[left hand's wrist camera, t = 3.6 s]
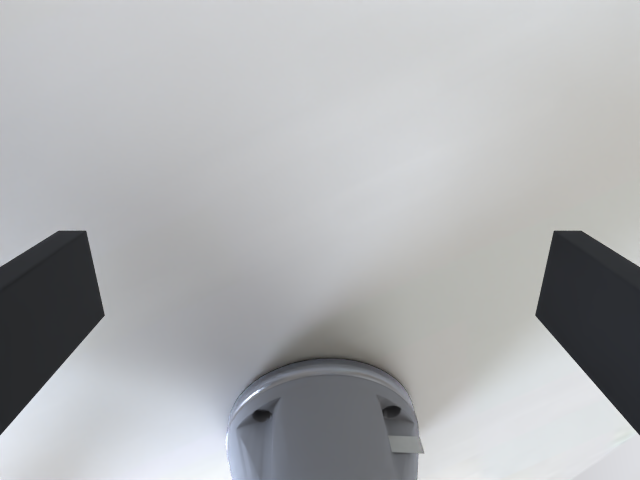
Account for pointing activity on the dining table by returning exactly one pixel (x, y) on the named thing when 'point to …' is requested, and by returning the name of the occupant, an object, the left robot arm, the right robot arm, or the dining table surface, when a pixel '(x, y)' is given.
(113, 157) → the dining table surface
